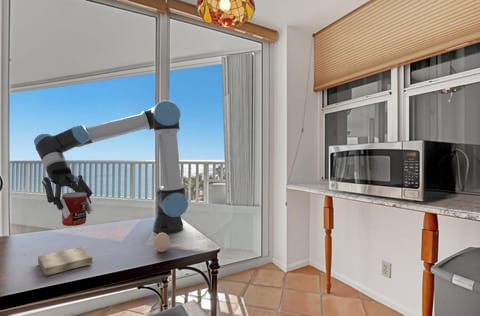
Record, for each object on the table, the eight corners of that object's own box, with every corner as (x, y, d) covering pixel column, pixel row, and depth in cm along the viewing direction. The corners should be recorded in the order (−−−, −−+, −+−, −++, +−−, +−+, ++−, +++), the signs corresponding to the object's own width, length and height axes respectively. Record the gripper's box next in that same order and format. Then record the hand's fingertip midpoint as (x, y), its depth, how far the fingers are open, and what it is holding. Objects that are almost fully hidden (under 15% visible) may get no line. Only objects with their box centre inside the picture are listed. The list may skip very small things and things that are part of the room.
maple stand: (81, 254, 110) (81, 246, 110) (92, 265, 100) (92, 257, 100) (38, 264, 100) (37, 256, 100) (45, 277, 90) (45, 268, 90)
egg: (172, 248, 117) (172, 230, 117) (167, 254, 110) (167, 235, 110) (156, 248, 117) (156, 230, 117) (151, 254, 111) (151, 235, 110)
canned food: (75, 227, 97) (75, 196, 97) (56, 225, 99) (56, 194, 98) (91, 221, 105) (91, 192, 104) (73, 219, 106) (73, 191, 106)
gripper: (79, 171, 118) (101, 214, 110) (22, 174, 100) (44, 226, 92) (87, 159, 115) (110, 203, 107) (29, 160, 97) (52, 212, 89)
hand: (79, 213), depth 100 cm, fingers closed on canned food, 8 cm apart
